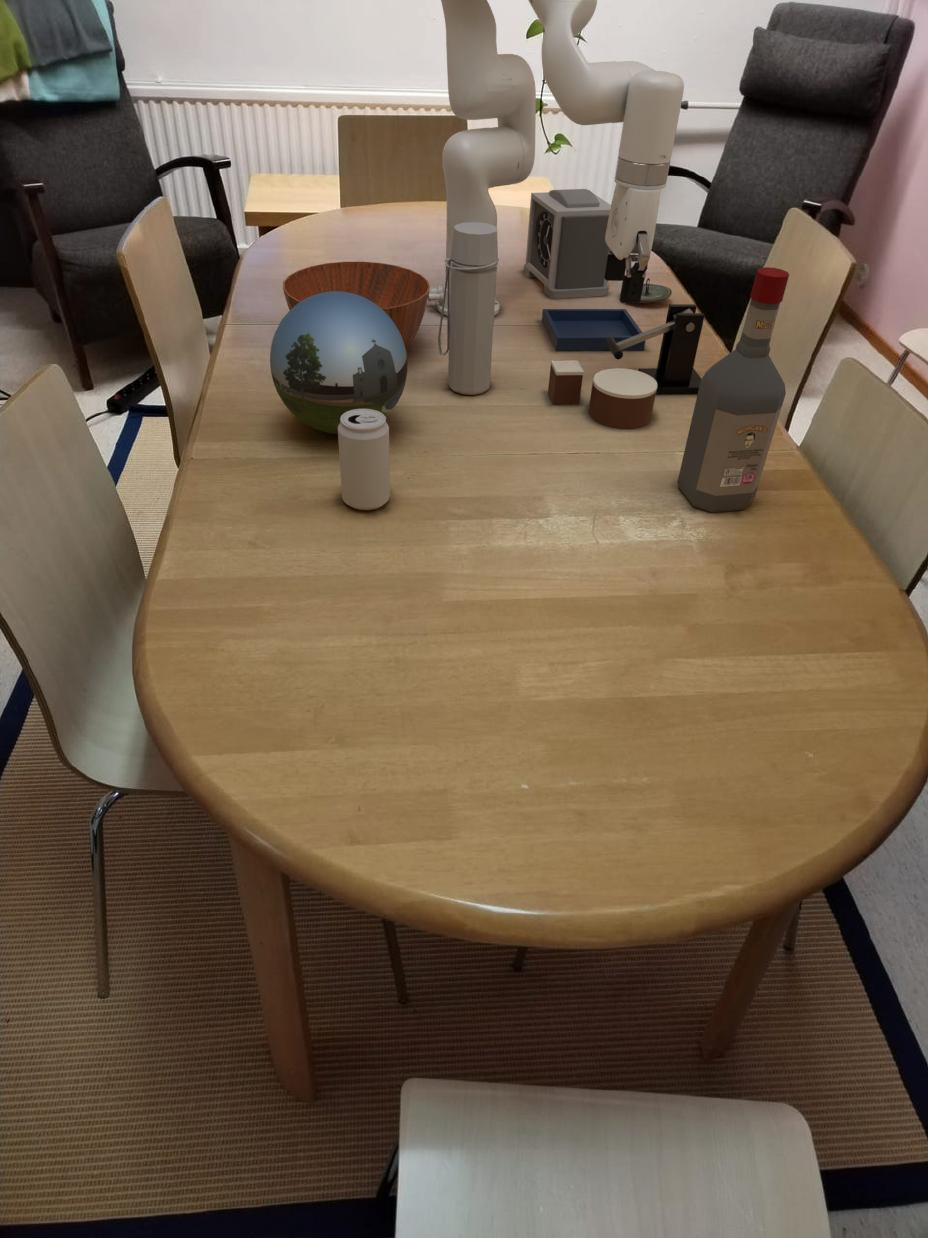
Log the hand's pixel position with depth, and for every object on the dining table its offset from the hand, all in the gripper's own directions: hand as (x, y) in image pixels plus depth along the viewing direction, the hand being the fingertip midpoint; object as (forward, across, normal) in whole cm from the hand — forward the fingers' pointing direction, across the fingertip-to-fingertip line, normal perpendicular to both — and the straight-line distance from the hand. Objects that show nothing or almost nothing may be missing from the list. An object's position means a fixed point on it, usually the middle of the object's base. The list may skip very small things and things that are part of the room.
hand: (621, 290), depth 134 cm
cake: (+15, +12, -1) cm, 19 cm away
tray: (+16, -21, +2) cm, 27 cm away
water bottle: (+16, +1, -25) cm, 29 cm away
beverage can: (+16, +36, -42) cm, 57 cm away
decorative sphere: (+16, +15, -45) cm, 50 cm away
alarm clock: (+17, -51, +4) cm, 54 cm away
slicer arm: (+8, +1, +7) cm, 10 cm away
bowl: (+17, -15, -42) cm, 47 cm away
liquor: (+15, +37, +6) cm, 40 cm away
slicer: (+16, +1, +11) cm, 19 cm away
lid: (+16, -40, +19) cm, 47 cm away
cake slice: (+16, +6, -9) cm, 19 cm away
